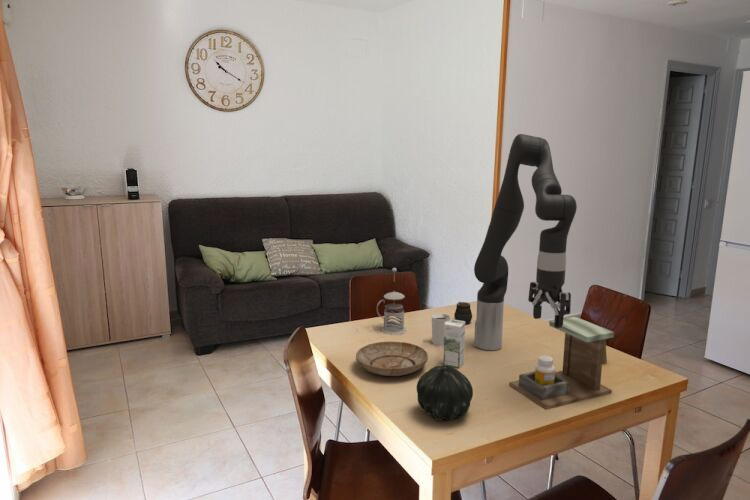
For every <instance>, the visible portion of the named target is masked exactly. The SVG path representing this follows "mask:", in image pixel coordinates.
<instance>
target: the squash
mask: <svg viewBox="0 0 750 500" xmlns="http://www.w3.org/2000/svg"><path fill="white" fill-rule="evenodd" d="M416 393H417V402H418V405H419V407H420V408H421V409H422V410H423V411H425V412H426V413H427V414H428V415H431V416H432V415H433V417H434V419H436V420H437V421H441V420H444V419H446V420H447V421H452V420H454V419H455V418H461V417H463V416H464V415H465V414H467V413H468V412H469V409H470V407H471V402H472V399H473V394H474V390H473V386H472V383H471V381H470V380H469V378H468V377H467V376H466V375H465V374H463V373H462V372H460V371H459V370H457V368H456V367H451V366H446V365H436V366H433V367H431V368H430V369H429V370H428V371H425V372H424V373H423V374H421V376H420V377H419V378H418V381H417V383H416Z"/></svg>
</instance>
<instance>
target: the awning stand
mask: <svg viewBox="0 0 750 500" xmlns="http://www.w3.org/2000/svg"><path fill="white" fill-rule="evenodd" d="M554 320H555V319H553V320H549V325H548V326H549V327H551V328H553V329H556V330H558V331H559V332H563V333H564V345H563V358H562V359H563V361H562V370H560V371H555V378H554V384H550V385H545V386H542V385H540V384H539V383H537V382H535V370H534V371H531V372H526V373H521V374H519V375H518V379H517V380H514V381H509V383H508V385H509V386H510V387H511V388H513V389H514V390H516V391H517V392H519V393H521V394H522V395H523V396H525V397H526V398H528V399H529V400H531V401H533V402H534V403H536V404H537V405H539V406H540V407H542V408H544V409H545V410H549V409H554V408H557V407H561V406H565V405H569V404H572V403H573V404H574V403H577V402H581V401H585V400H590V399H593V398H597V397H601V396H604V395H609V394H612V391H613V389H611V388H609V387H607V386H605V385H603V384H601V383H602V382H601V381H602V380H601V379H602V370H603V364H602V360H603V349H604V339H606V340H608V339H612V338H614V337H615V332H614V331H612V330H611V329H608V328H605V327H602V326H600V325H597V324H594V323H592V322H589V321H587V320H584V319H582V318H579V317H577V316H572V317H566V318H563V326H562V327H561V328H555V327H554Z"/></svg>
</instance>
